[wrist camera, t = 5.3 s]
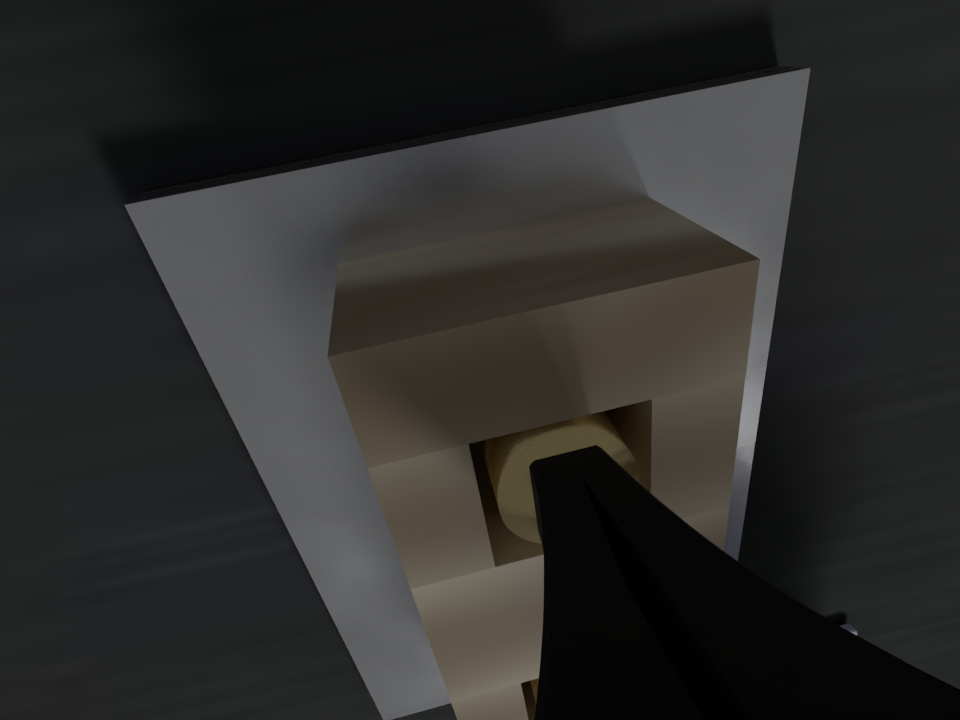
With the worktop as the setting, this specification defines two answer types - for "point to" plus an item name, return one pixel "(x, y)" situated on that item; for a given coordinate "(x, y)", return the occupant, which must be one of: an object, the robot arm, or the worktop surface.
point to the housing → (535, 402)
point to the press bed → (423, 221)
